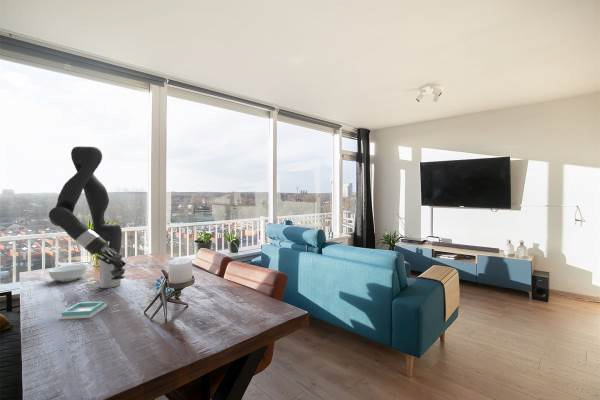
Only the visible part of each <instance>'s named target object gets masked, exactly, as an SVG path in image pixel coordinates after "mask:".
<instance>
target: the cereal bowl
mask: <svg viewBox="0 0 600 400" xmlns="http://www.w3.org/2000/svg"><path fill="white" fill-rule="evenodd" d="M87 269H88V266H87V265H86V264H72V265H71V264H70V265H63V266H57V267H54V268H52V269H50V270H48V272H49V273H48V274H49V277H50V279H52V280H54V281H59V282H62V283H64V282H72V281H76V280H78V279H79V278H80V277H81V278H82V276H84V275H85V274H86V273H87Z"/></svg>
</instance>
